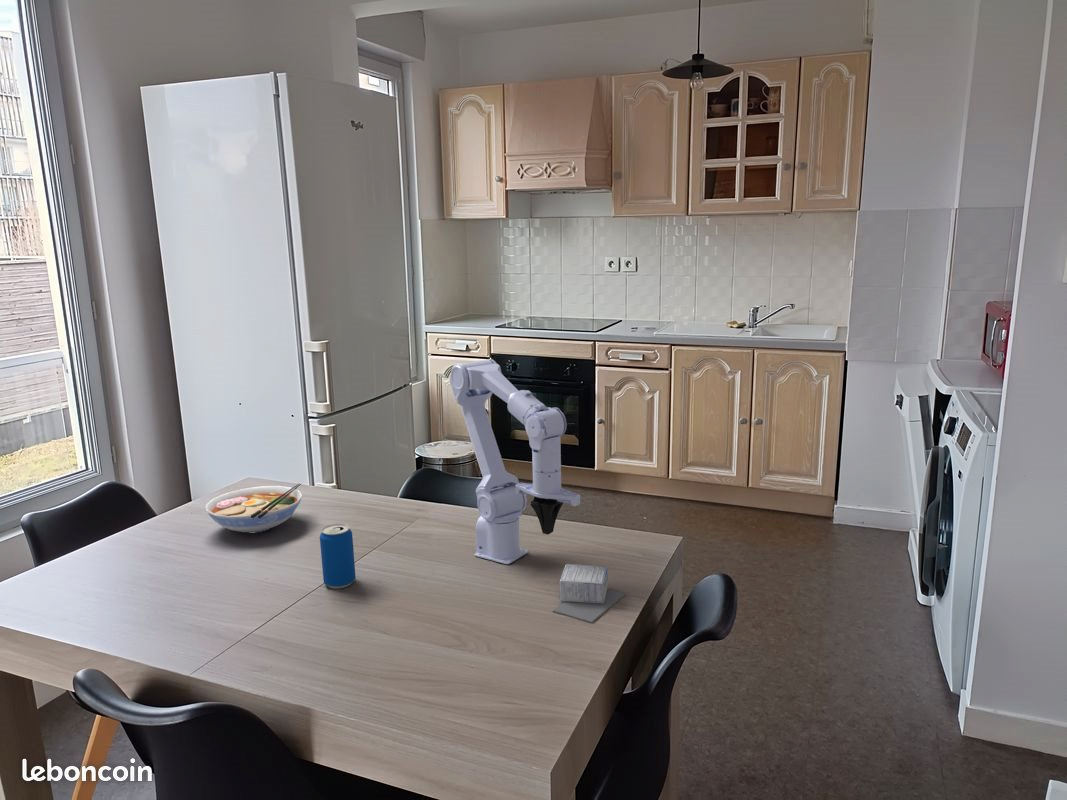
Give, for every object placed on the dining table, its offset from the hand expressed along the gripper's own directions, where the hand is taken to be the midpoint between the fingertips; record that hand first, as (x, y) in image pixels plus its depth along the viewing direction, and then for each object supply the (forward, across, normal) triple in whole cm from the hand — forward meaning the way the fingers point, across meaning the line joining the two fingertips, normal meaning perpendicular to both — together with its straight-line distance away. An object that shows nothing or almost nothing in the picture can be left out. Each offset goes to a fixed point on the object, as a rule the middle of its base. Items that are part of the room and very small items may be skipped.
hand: (547, 532), depth 157 cm
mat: (+10, -13, +5) cm, 17 cm away
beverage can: (+10, +36, +25) cm, 45 cm away
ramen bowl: (+11, +78, +14) cm, 80 cm away
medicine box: (+8, -6, +5) cm, 11 cm away
